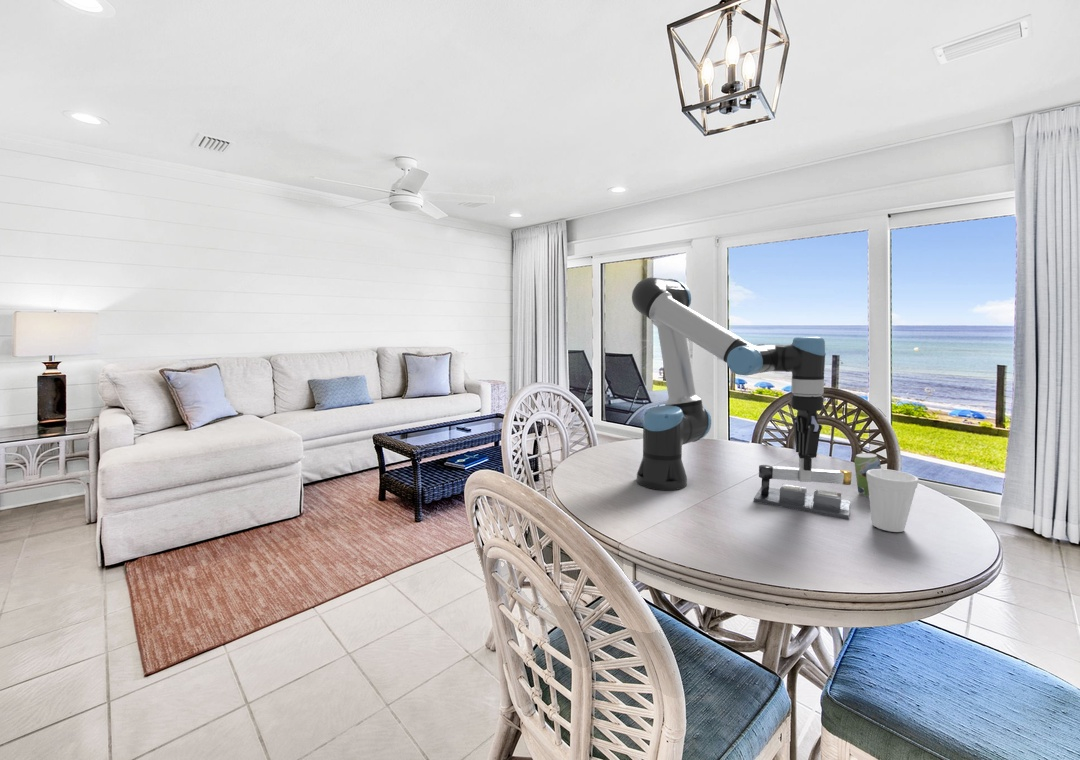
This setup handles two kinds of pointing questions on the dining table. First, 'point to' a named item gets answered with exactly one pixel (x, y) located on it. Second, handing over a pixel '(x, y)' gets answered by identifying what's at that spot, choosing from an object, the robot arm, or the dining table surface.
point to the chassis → (803, 500)
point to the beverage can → (865, 470)
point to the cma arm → (816, 476)
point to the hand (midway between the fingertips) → (804, 481)
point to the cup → (890, 498)
